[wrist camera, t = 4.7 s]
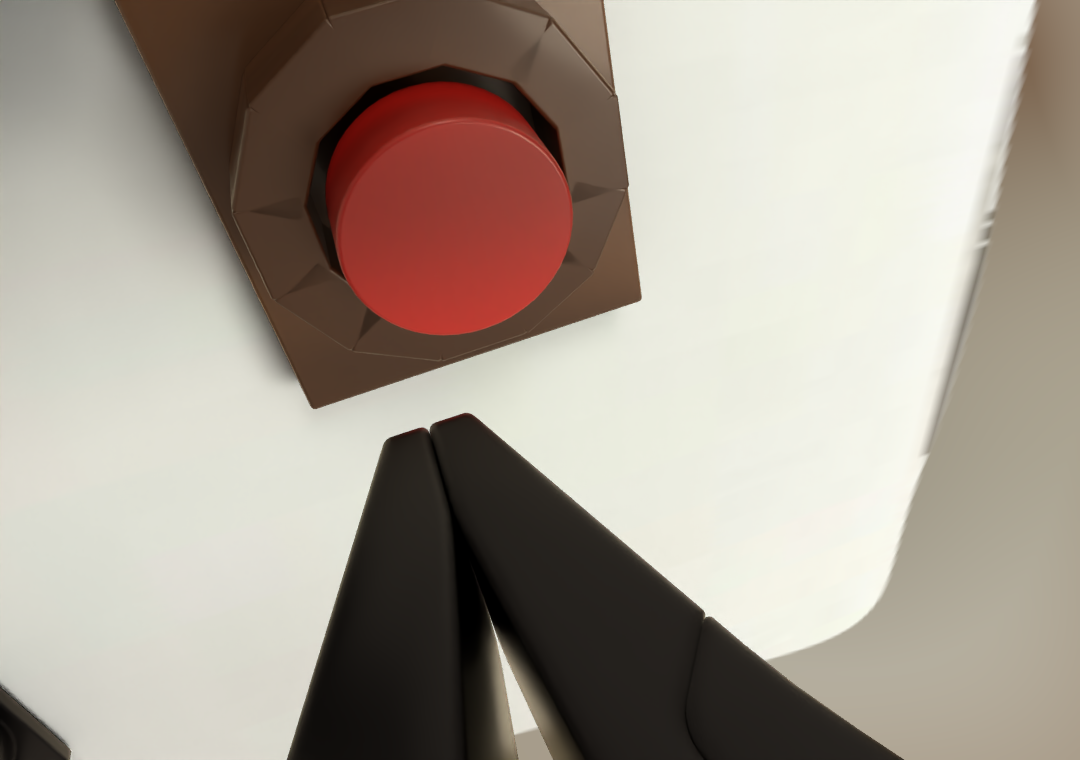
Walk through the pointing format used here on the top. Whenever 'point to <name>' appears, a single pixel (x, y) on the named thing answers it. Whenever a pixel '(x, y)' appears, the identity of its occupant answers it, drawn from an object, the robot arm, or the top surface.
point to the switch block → (330, 108)
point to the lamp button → (446, 209)
